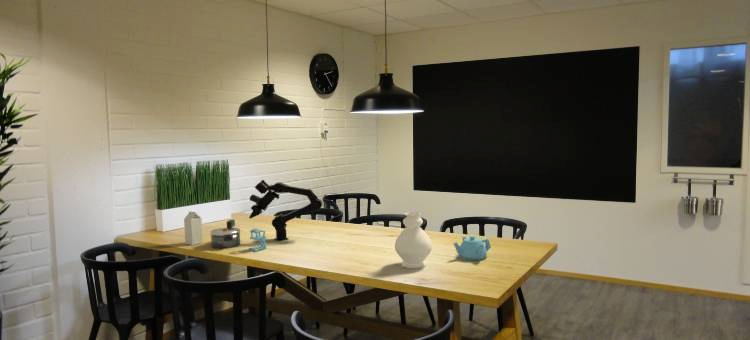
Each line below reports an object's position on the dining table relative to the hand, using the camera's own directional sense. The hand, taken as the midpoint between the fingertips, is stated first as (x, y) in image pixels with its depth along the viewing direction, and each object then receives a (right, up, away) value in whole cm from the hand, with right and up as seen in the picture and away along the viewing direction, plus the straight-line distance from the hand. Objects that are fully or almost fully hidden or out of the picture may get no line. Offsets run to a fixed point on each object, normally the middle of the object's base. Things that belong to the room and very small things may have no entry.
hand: (249, 217), depth 317 cm
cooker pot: (-12, -15, -9) cm, 21 cm away
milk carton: (-32, -15, -3) cm, 36 cm away
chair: (+10, -16, -24) cm, 30 cm away
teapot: (+124, -15, -53) cm, 135 cm away
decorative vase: (+94, -17, -63) cm, 114 cm away
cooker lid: (-11, -7, -8) cm, 16 cm away
